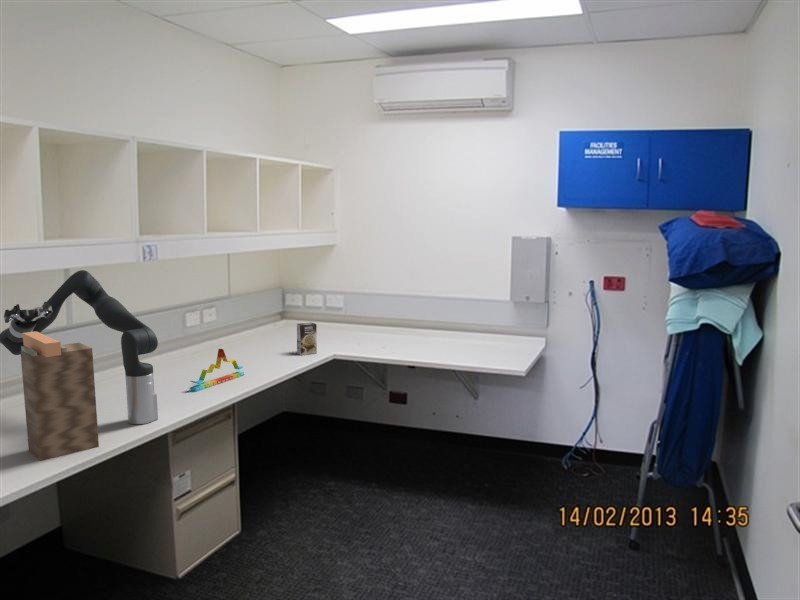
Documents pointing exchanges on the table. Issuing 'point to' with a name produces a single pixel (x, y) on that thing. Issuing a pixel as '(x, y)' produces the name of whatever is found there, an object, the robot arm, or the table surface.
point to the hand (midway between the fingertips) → (32, 305)
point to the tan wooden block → (42, 344)
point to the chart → (217, 381)
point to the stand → (60, 401)
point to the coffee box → (306, 338)
